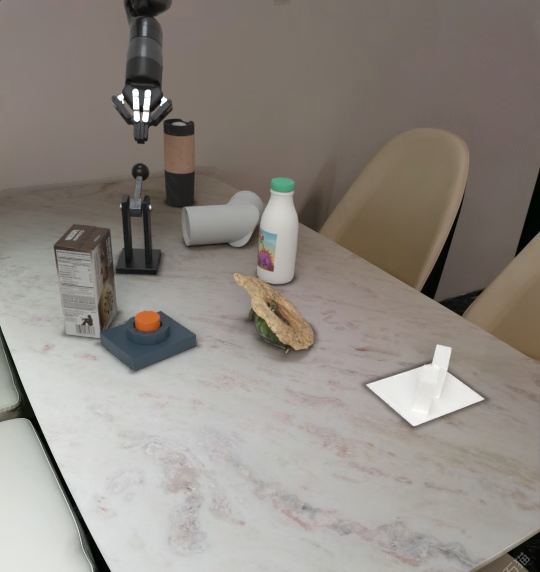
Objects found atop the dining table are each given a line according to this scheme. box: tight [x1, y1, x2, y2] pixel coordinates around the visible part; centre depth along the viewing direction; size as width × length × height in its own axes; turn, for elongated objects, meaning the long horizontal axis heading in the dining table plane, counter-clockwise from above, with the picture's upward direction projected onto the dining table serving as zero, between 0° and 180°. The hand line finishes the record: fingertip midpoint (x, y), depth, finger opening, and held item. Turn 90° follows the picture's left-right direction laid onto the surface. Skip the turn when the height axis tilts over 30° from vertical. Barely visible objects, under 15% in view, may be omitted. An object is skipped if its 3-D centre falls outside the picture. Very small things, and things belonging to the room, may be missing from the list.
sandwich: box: [233, 272, 315, 354], centre depth 104 cm, size 18×14×8 cm
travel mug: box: [162, 118, 196, 208], centre depth 150 cm, size 8×8×20 cm
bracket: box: [115, 193, 162, 276], centre depth 120 cm, size 10×8×14 cm
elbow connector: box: [181, 190, 265, 248], centre depth 135 cm, size 18×10×20 cm
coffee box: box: [53, 223, 118, 339], centre depth 98 cm, size 9×6×16 cm
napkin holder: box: [365, 344, 485, 427], centre depth 91 cm, size 15×11×6 cm
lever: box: [129, 162, 150, 218], centre depth 120 cm, size 13×4×4 cm, turn 3°
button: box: [134, 310, 160, 332], centre depth 96 cm, size 4×4×2 cm
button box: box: [99, 310, 197, 372], centre depth 97 cm, size 12×10×4 cm
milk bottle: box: [256, 176, 299, 285], centre depth 117 cm, size 8×8×20 cm
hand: (140, 141), depth 122 cm, fingers closed
